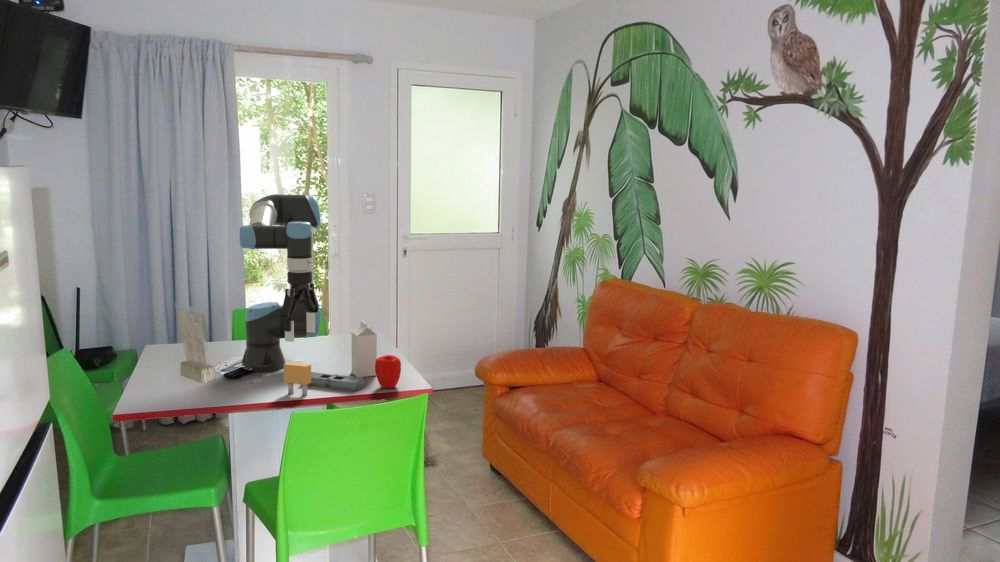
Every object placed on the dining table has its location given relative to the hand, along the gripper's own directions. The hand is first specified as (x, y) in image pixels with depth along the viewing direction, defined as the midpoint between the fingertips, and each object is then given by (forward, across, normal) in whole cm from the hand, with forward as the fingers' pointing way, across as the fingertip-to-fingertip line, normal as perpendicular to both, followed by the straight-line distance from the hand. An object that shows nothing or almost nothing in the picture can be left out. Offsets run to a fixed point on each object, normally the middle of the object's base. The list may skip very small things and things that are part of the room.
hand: (300, 336), depth 228 cm
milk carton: (+19, +27, -10) cm, 34 cm away
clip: (+19, -1, +1) cm, 19 cm away
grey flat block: (+19, +11, -6) cm, 23 cm away
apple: (+19, +16, -24) cm, 34 cm away
